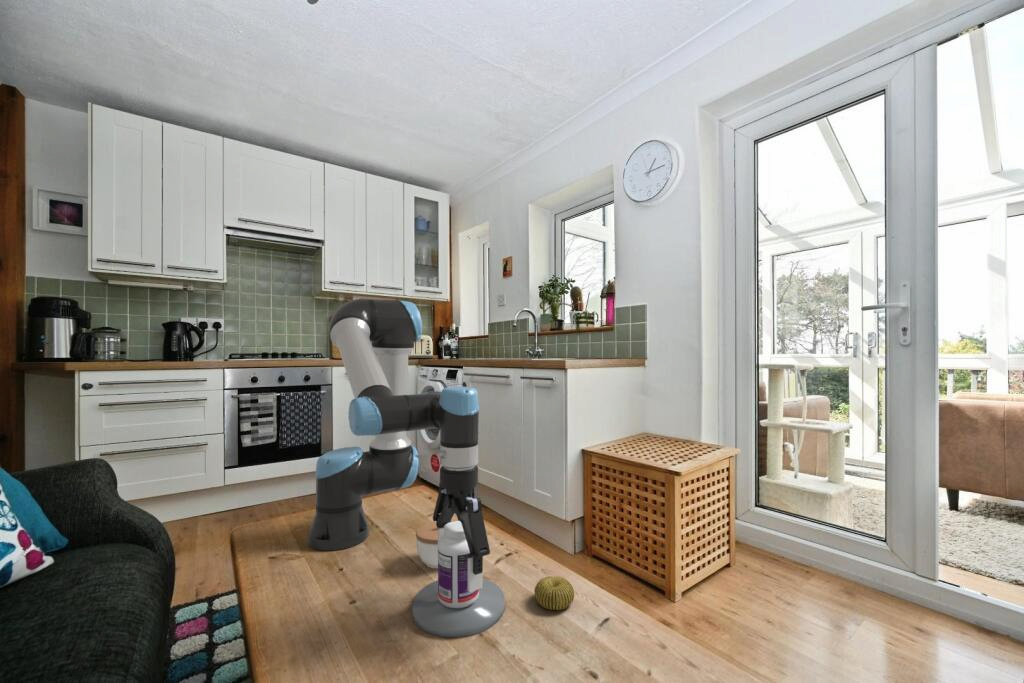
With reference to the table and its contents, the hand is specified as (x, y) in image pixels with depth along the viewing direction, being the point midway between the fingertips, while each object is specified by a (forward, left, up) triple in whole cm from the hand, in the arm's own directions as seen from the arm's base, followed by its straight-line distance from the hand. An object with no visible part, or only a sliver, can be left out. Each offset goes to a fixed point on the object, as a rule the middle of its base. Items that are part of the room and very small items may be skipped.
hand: (458, 573), depth 87 cm
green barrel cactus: (+9, +17, -7) cm, 20 cm away
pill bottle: (0, 0, -5) cm, 5 cm away
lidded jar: (-19, +4, -7) cm, 20 cm away
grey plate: (0, 0, -7) cm, 7 cm away
